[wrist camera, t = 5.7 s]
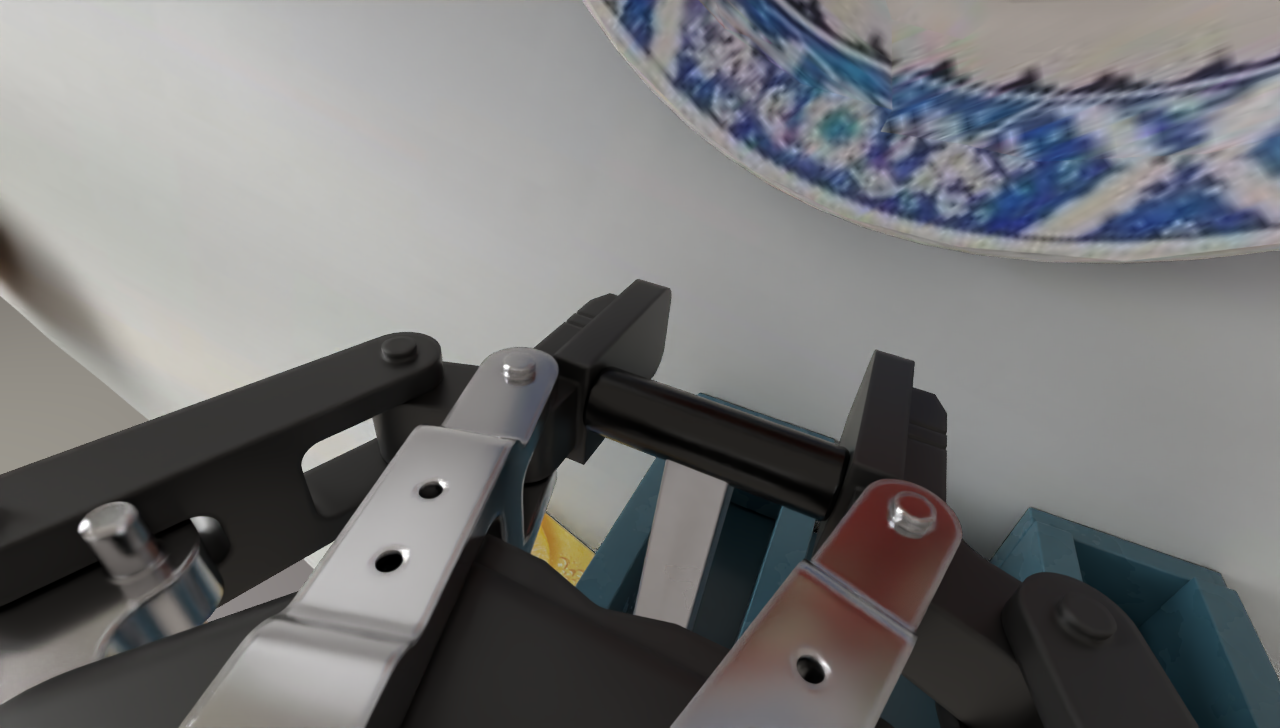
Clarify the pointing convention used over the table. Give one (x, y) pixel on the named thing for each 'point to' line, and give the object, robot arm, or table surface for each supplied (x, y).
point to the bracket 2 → (1162, 615)
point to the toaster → (731, 578)
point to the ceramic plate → (988, 116)
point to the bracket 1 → (626, 544)
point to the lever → (705, 477)
